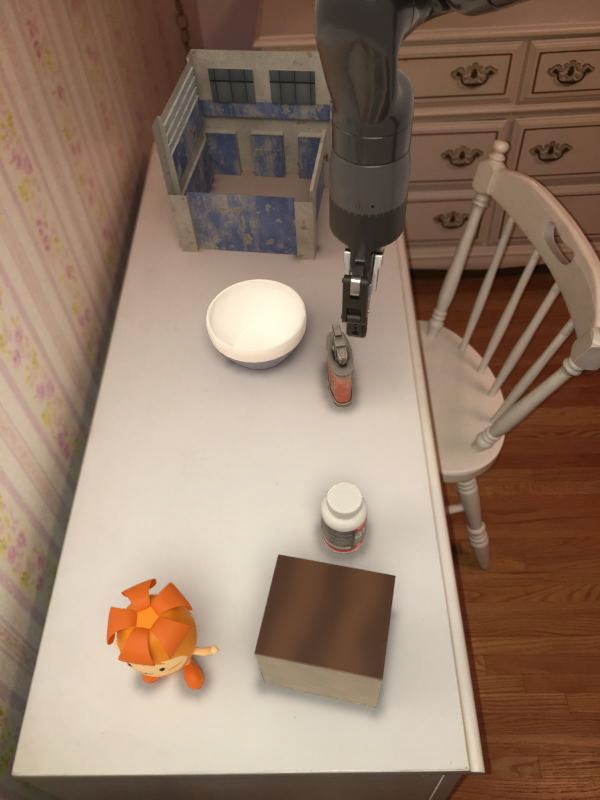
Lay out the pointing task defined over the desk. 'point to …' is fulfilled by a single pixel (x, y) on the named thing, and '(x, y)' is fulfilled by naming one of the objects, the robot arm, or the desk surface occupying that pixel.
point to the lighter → (339, 367)
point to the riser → (326, 630)
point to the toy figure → (157, 634)
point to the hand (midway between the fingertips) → (362, 307)
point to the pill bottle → (343, 518)
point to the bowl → (256, 322)
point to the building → (246, 148)
